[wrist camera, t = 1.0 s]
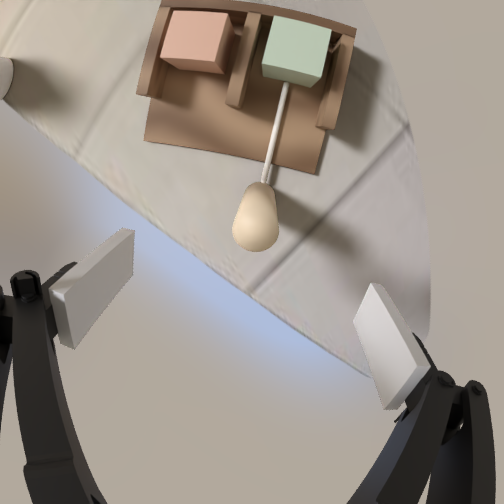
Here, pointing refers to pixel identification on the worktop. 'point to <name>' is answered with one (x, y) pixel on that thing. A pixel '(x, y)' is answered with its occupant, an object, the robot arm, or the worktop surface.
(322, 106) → the lane shelf
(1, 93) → the milk bottle
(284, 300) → the worktop surface
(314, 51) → the green headed mallet
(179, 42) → the terracotta block
